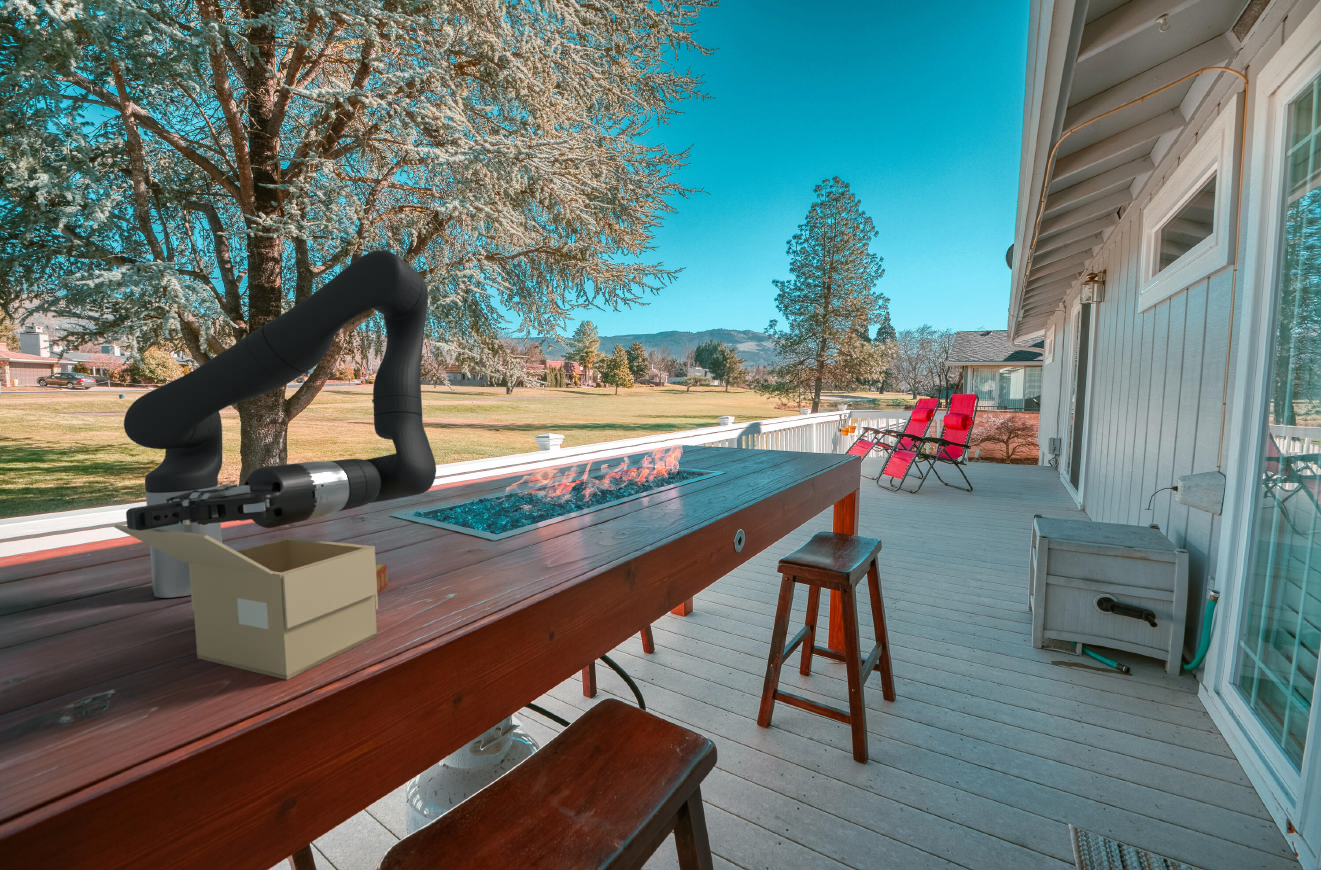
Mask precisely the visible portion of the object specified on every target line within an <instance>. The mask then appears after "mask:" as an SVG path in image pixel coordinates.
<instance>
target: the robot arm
mask: <svg viewBox="0 0 1321 870" xmlns="http://www.w3.org/2000/svg"><path fill="white" fill-rule="evenodd" d="M428 300H429V290H428V285H427V282H426V280H425V279H424V278H423V277H422V275H420V273H419V272H418V271H416V270H415V269H414V268H413V267H412V266H411V265H410V264H408V263H407V262H406V261H405V260H403V259H402V258H401V257H400V256H398V255H397V254H395V253H393V252H391V251H389V250H384V249H383V250H382V249H381V250H374V251H371V252H368V253H365V254H364V255H362V256H361V257H358V259H356V260H355V261H353V262H352V263H351V264H349V265H348V266H347V267H345V268H344V269H342V271H340V272H339V273H338V274H337V275H336V276H334V277H333V278H331V280H329V281H328V282H327V283H326V284H324V285H323V286H322V287H320V288H319V289H318V290H317V291H315V292H314V293H312V294H311V295H309V296H308V297H306V298H305V299H303V300H302V301H300V302H299V303H297V304H296V305H294V306H292V307H290V309H289V310H287V311H285V312H284V313H282V314H281V315H278V316H277V317H276V318H274V319H272V320H271V321H268V322H267V323H265V324H264V325H262V326H260V327H258V328H257V329H256V330H254V331H253V332H251V333H248V334H247V335H246V336H245V337H243V338H241V339H240V340H239V341H237V342H236V343H235V344H232V345H231V346H230V347H228V348H227V349H225V350H223V351H221V352H220V353H219V354H216V355H215V356H214V357H212V358H210V359H209V360H207V361H206V362H205V363H203V364H201V365H200V366H198V367H197V368H195V369H194V370H193V369H192V370H191V371H190V372H188V373H186V374H184V375H182V376H180V377H178V378H176V379H173V380H172V381H170V382H168V383H165V384H163V385H162V386H159V387H157V388H155V389H153V390H151V391H148V392H147V393H145V394H143V395H141V396H140V397H138V398H136V400H134V402H132V403H131V405H130V406H129V407H128V409H127V410H126V413H125V415H124V420H123V429H124V432H125V434H126V436H127V438H128V439H130V440H131V441H132V442H133V443H135V444H137V445H139V446H142V447H143V448H148V449H153V450H154V449H155V450H165V453H164V455H165V456H164V458H163V460H162V462H161V463H160V465H158V466H157V467H156V468H154V469H153V470H151V471H149V472H148V473H147V474H146V476H145V478H144V486H145V499H146V505H144V506H142V505H141V506H137V507H131V508H129V509H127V510H126V512H125V518H126V526H127V527H128V528H129V529H131V530H140V531H141V530H147V529H160V530H169V531H178V532H187V533H196V534H205V535H208V536H210V537H211V538H213V539H215V540H217V541H219V542H220V543H222V544H223V538H222V537H223V536H222V535H223V534H222V525H221V524H223V523H228V522H237V521H240V522H246V521H250V520H252V522H254V523H255V524H256V525H258V526H259V527H261V528H265V529H273V528H277V527H282V526H287V525H292V524H296V523H301V522H306V521H310V520H314V519H318V518H323V517H326V516H328V515H331V514H334V513H338V512H343V511H347V510H353V509H356V508H360V507H363V506H366V505H368V504H373V503H374V504H375V503H379V502H387V501H392V500H396V499H397V500H398V499H401V498H407V497H413V496H418V495H422V494H424V493H426V492H428V491H429V490H431V488H432V487H433V484H434V482H435V479H436V475H437V465H436V459H435V457H434V454H433V453H434V452H433V451H432V448H431V445H430V442H429V439H428V436H427V433H426V430H425V428H424V424H423V422H424V421H423V405H422V404H423V403H422V402H423V401H422V387H421V385H422V382H421V379H422V371H421V370H422V357H423V356H422V355H423V345H424V344H423V343H424V336H425V335H424V334H425V327H426V319H427V313H428V312H427V311H428V303H429V301H428ZM371 309H372V310H373V309H374V310H375V311H377V312H378V313H379V314H380V313H381V314H382V316H383V320H384V324H385V330H386V346H385V347H386V348H385V352H384V354H383V357H382V360H381V362H380V364H379V367H378V369H377V372H376V374H375V378H374V382H373V388H372V402H373V404H372V405H373V424H374V431H375V434H376V435H377V436H378V437H380V438H381V439H385V440H391V441H392V443H393V446H394V449H395V453H392V454H387V455H382V456H378V457H372V458H365V459H363V458H362V459H361V458H345V459H337V460H330V461H320V460H319V461H317V460H316V461H303V462H297V463H296V462H294V463H287V464H278V465H270V466H262V467H258V468H255V469H254V470H253V471H251V472H250V473H249V475H248V476H247V478H246V480H245V482H244V484H243V485H238V484H226V485H220V486H219V480H218V478H219V474H220V472H221V470H222V467H223V466H222V465H223V424H222V423H223V422H222V418H221V414H220V411H221V410H222V411H223V410H224V409H225V408H228V407H231V406H233V405H234V404H238V403H242V402H244V401H247V400H250V399H253V398H256V397H258V396H262V395H264V394H267V393H270V392H273V391H275V390H277V389H280V388H282V387H284V386H286V385H287V384H290V383H292V382H293V381H294V380H296V379H298V378H300V377H301V376H304V374H306V373H308V372H309V371H311V370H312V369H314V368H315V367H316V366H318V365H319V363H320V362H321V361H322V360H323V358H324V357H325V356H326V353H327V352H328V350H329V348H330V346H331V345H332V342H333V340H334V338H335V336H336V334H337V333H338V332H339V330H340V329H341V328H342V327H344V326H345V325H346V324H348V323H349V322H350V321H352V320H353V319H355V318H356V317H358V316H359V315H361V314H363V313H365V312H367V311H369V310H371ZM148 546H149V557H150V571H151V582H152V583H151V584H152V586H151V587H152V592H153V596H154V597H155V598H162V599H164V598H165V599H166V598H178V597H185V596H186V597H187V596H191V585H190V572H189V563H188V562H183V561H181V560H179V559H177V558H175V557H173V556H171V555H169V554H167V553H165V552H163V551H161V550H159V549H157V548H155V547H153V546H151V545H149V544H148Z"/></svg>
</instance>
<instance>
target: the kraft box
mask: <svg viewBox="0 0 1321 870" xmlns="http://www.w3.org/2000/svg"><path fill="white" fill-rule="evenodd" d="M236 551H237V552H239V553H240V554H242V555H244V556H246V557H248V558H249V559H251V560H253V561H255V562H257V563H258V564H260V565H262V566H264V567H266V568H267V569H269V570H271V571H273V574H265V573H258V572H251V571H244V570H237V569H230V568H223V567H216V566H209V565H202V564H195V563H189V572H190V585H191V595H190V597H191V609H192V611H193V614H194V615H193V616H194V626H195V643H196V655H197V659H199V660H203V661H207V662H211V663H216V664H221V665H224V666H229V667H231V668H232V667H233V668H237V669H241V670H243V671H244V670H245V671H249V672H254V673H258V674H262V675H265V676H270V677H274V678H277V679H282V680H286V681H287V680H290V679H292V678H294V677H296V676H298V675H300V674H302V673H305V672H306V671H308V670H310V669H312V668H315V667H317V666H319V665H321V664H323V663H325V662H327V661H329V660H331V659H333V658H336V657H337V656H340V655H341V654H344V653H345V652H348V651H350V650H352V649H354V648H357V647H358V646H360V645H362V644H364V643H367V642H369V641H371V640H373V639H375V638H377V637H378V633H377V631H378V630H377V629H378V628H377V615H376V614H377V613H376V610H378V609H379V604H378V603H379V600H378V599H379V598H378V595H377V579H376V564H377V563H376V547H375V546H374V545H364V544H355V543H347V542H346V543H345V542H338V541H337V542H335V541H326V540H316V539H306V538H300V537H299V538H297V537H291V538H290V537H288V538H284V539H279V540H275V541H271V542H267V543H263V544H258V545H255V546H249V547H246V548H242V549H237V550H236Z"/></svg>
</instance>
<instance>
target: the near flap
mask: <svg viewBox="0 0 1321 870" xmlns="http://www.w3.org/2000/svg"><path fill="white" fill-rule="evenodd" d="M113 528H115V529H117V530H118V531H121V532H122V533H124V534H127V535H129V536H131V537H132V538H135V539H137V540H139V541H141V542H142V543H145V544H147V545H148V546H149V545H151V546H153V547H155V548H157V549H159V550H161V551H163V552H165V553H167V554H169V555H171V556H173V557H175V558H177V559H179V560H181V561H183V562H188V563H195V564H202V565H209V566H216V567H223V568H230V569H237V570H244V571H251V572H258V573H265V574H273V571H271V570H269V569H267V568H266V567H264V566H262V565H260V564H258V563H257V562H255V561H253V560H251V559H249V558H248V557H246V556H244V555H242V554H240V553H239V552H237V550H234V549H233V548H231V547H229V546H228V545H226V544H224V543H223V542H222V543H220V542H219V541H217V540H215V539H213V538H211V537H210V536H208V535H205V534H196V533H187V532H178V531H169V530H160V529H147V530H141V531H140V530H131V529H129V528H128V527H127V525H123V524H122V525H121V524H114V526H113Z"/></svg>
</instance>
